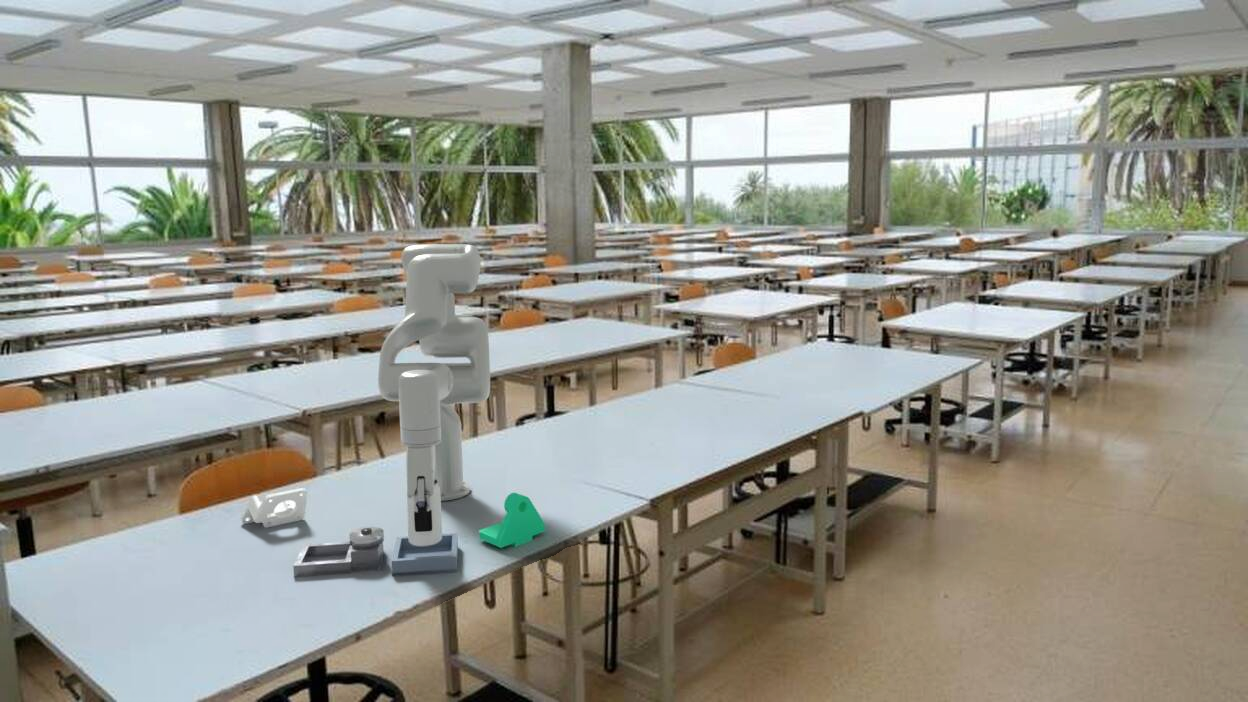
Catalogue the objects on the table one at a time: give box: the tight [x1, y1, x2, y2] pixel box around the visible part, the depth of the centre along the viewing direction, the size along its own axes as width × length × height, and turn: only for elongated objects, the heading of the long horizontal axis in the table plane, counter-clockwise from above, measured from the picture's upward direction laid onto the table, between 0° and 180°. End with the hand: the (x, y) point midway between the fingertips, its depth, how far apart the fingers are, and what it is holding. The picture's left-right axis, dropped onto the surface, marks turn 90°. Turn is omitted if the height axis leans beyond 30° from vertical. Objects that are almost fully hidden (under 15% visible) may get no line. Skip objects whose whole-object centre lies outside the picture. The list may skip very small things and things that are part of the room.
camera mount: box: [478, 492, 546, 549], centre depth 183 cm, size 12×8×10 cm, turn 138°
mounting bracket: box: [240, 487, 308, 528], centre depth 192 cm, size 12×6×11 cm, turn 127°
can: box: [405, 479, 443, 547], centre depth 171 cm, size 6×6×12 cm
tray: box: [391, 532, 459, 577], centre depth 172 cm, size 12×12×3 cm
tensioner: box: [292, 526, 385, 578], centre depth 171 cm, size 10×16×6 cm, turn 100°
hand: (424, 523), depth 171 cm, fingers closed on can, 6 cm apart
